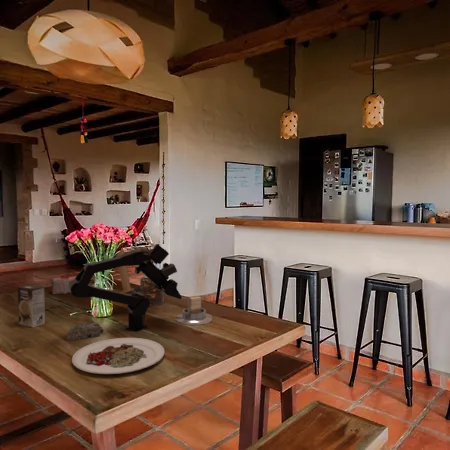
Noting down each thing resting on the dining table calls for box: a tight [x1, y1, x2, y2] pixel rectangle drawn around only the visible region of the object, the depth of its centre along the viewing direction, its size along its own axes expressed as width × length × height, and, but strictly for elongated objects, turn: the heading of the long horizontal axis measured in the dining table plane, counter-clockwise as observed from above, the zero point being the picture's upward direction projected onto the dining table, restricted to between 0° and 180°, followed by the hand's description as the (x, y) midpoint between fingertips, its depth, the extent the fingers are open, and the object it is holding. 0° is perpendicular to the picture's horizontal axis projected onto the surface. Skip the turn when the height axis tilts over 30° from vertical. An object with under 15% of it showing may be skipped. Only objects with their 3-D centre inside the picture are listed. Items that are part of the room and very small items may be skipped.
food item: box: [51, 274, 76, 295], centre depth 227 cm, size 14×8×10 cm, turn 121°
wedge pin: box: [187, 295, 202, 313], centre depth 179 cm, size 4×4×9 cm
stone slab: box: [65, 320, 104, 341], centre depth 162 cm, size 13×17×3 cm
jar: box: [139, 274, 165, 307], centre depth 206 cm, size 12×12×15 cm
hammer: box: [115, 246, 140, 294], centre depth 214 cm, size 20×5×30 cm, turn 121°
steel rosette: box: [175, 307, 213, 326], centre depth 179 cm, size 16×16×4 cm
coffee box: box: [17, 283, 46, 328], centre depth 171 cm, size 9×6×16 cm
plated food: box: [71, 337, 165, 375], centre depth 137 cm, size 30×30×3 cm
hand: (177, 295), depth 175 cm, fingers open, 9 cm apart
